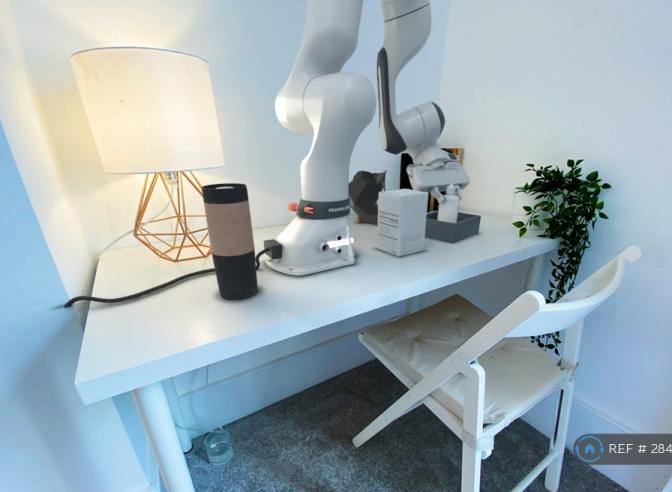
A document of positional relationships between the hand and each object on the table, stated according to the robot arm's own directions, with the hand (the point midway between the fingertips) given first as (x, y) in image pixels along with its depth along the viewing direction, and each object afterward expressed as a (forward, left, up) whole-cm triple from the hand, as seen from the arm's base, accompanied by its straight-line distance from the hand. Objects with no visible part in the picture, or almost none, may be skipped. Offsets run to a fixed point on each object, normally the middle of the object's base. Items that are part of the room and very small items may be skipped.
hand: (451, 201), depth 99 cm
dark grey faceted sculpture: (-5, +28, -10) cm, 30 cm away
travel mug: (-67, +6, -10) cm, 68 cm away
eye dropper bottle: (0, +1, -7) cm, 7 cm away
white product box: (-23, +1, -10) cm, 25 cm away
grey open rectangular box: (0, +1, -10) cm, 10 cm away
